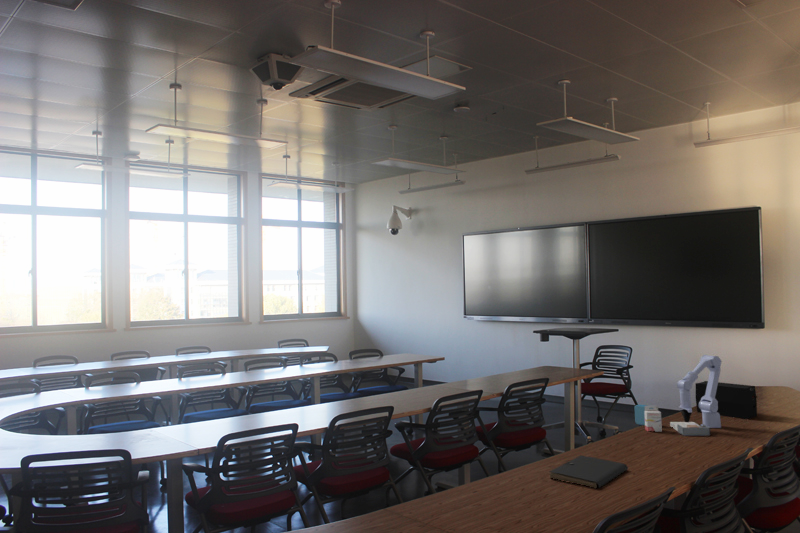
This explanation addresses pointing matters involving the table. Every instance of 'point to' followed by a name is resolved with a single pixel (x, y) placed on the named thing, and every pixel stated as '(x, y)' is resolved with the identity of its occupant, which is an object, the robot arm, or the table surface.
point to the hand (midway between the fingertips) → (686, 422)
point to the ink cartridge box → (652, 419)
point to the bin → (694, 431)
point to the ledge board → (683, 424)
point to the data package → (640, 414)
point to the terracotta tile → (692, 426)
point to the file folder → (588, 471)
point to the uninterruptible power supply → (731, 399)
